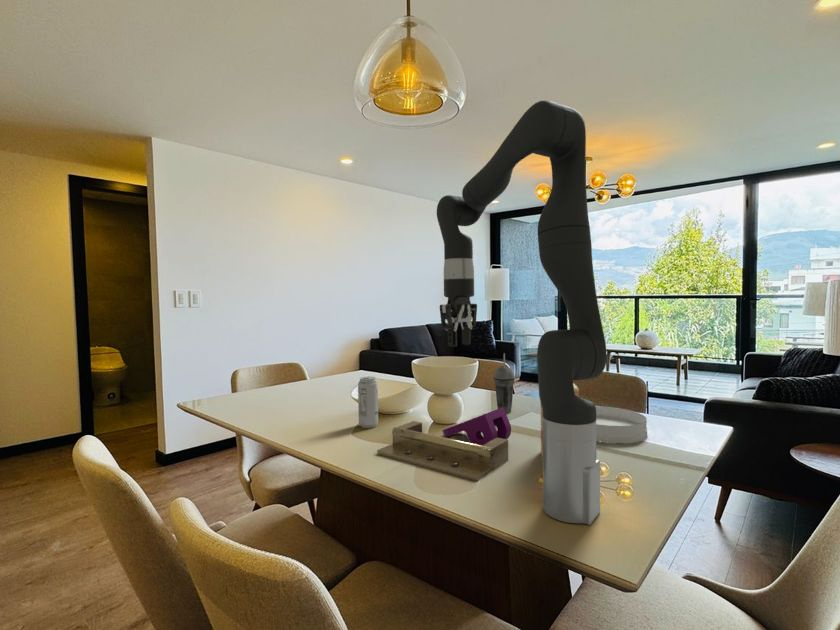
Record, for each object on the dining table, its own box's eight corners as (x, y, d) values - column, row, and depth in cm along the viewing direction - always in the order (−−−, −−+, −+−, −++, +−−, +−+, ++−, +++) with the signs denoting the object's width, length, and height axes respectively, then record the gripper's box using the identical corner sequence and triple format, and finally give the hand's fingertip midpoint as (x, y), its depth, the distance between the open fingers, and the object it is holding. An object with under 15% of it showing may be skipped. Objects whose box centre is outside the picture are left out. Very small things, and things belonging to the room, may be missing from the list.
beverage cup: (492, 413, 150) (491, 354, 149) (495, 408, 156) (494, 352, 156) (514, 414, 147) (513, 355, 147) (516, 409, 154) (515, 352, 154)
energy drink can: (380, 427, 136) (379, 378, 135) (361, 429, 134) (360, 380, 133) (375, 422, 141) (374, 375, 141) (356, 424, 139) (355, 377, 139)
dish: (565, 440, 121) (565, 422, 121) (563, 419, 142) (563, 404, 142) (655, 447, 114) (655, 428, 114) (639, 424, 135) (640, 408, 135)
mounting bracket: (446, 462, 122) (497, 446, 111) (435, 432, 124) (484, 414, 113) (466, 452, 129) (515, 437, 118) (455, 425, 131) (503, 406, 120)
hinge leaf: (508, 460, 106) (508, 438, 106) (476, 481, 94) (476, 457, 94) (413, 438, 124) (413, 420, 124) (377, 454, 112) (376, 433, 112)
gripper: (455, 276, 101) (456, 349, 102) (486, 278, 113) (487, 343, 113) (429, 277, 106) (430, 347, 107) (461, 279, 117) (462, 342, 118)
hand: (459, 345), depth 110 cm, fingers open, 5 cm apart
